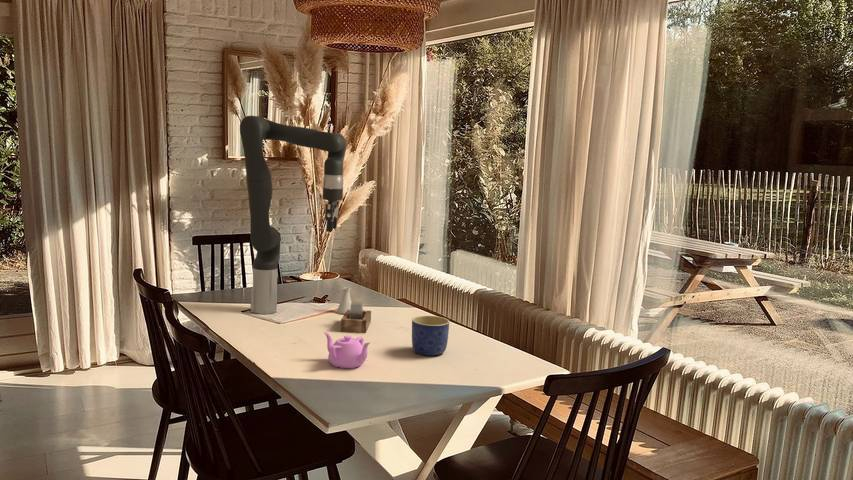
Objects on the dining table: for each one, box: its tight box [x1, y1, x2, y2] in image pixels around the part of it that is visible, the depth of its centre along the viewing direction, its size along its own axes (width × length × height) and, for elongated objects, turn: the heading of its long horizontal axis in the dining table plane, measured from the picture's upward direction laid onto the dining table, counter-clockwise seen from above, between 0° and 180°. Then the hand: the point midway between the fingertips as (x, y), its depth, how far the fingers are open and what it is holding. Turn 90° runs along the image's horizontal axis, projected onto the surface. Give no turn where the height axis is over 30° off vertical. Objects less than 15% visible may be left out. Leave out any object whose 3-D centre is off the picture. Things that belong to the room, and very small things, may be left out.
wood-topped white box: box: [350, 301, 364, 320], centre depth 259 cm, size 4×4×9 cm
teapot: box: [323, 331, 371, 369], centre depth 217 cm, size 12×14×9 cm
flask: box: [336, 286, 353, 315], centre depth 279 cm, size 7×7×10 cm
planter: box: [411, 315, 450, 356], centre depth 233 cm, size 12×12×11 cm
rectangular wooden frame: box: [340, 309, 372, 334], centre depth 259 cm, size 9×15×4 cm, turn 177°
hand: (331, 230), depth 265 cm, fingers open, 8 cm apart
